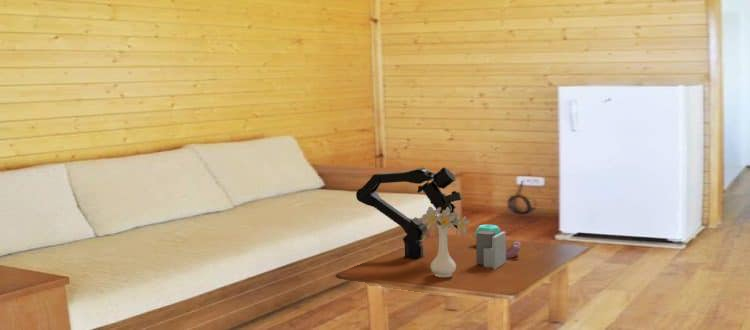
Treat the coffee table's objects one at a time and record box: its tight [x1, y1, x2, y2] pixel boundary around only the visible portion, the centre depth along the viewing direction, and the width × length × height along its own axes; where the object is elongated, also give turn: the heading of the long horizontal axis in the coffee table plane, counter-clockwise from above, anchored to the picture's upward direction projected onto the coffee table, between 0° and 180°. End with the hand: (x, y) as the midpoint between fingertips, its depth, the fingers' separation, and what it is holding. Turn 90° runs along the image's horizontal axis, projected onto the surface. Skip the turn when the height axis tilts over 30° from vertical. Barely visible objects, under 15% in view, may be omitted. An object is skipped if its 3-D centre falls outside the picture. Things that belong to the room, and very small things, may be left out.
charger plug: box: [475, 231, 495, 266], centre depth 328 cm, size 8×5×12 cm, turn 63°
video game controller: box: [506, 241, 522, 259], centre depth 342 cm, size 10×5×7 cm, turn 169°
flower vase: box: [421, 206, 471, 278], centre depth 311 cm, size 13×18×25 cm
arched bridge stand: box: [483, 231, 507, 270], centre depth 327 cm, size 5×12×12 cm, turn 152°
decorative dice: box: [474, 224, 502, 239], centre depth 364 cm, size 8×8×8 cm
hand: (458, 228), depth 335 cm, fingers closed
